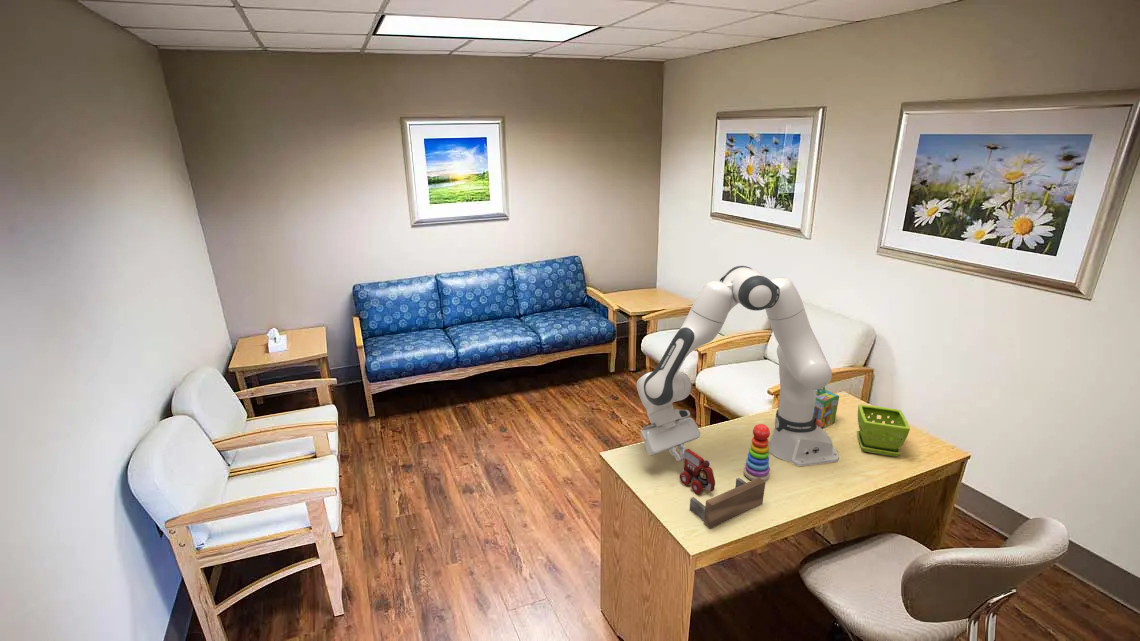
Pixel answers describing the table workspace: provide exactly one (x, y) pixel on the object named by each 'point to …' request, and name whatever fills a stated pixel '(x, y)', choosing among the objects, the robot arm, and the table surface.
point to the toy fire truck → (697, 473)
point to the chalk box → (826, 406)
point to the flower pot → (881, 430)
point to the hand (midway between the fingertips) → (682, 459)
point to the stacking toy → (758, 454)
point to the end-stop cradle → (730, 502)
